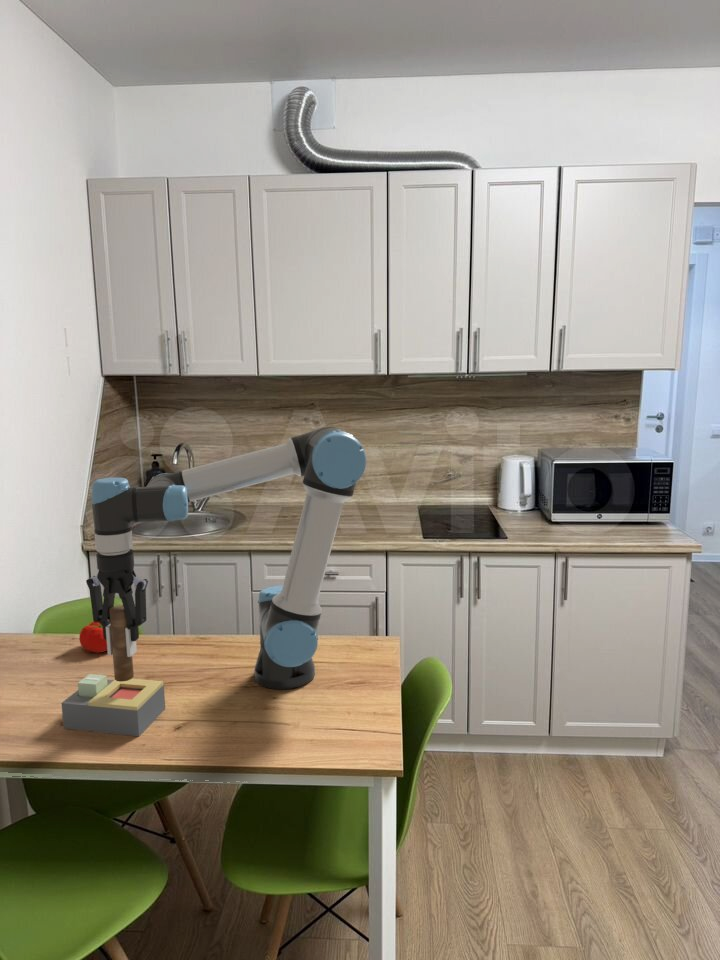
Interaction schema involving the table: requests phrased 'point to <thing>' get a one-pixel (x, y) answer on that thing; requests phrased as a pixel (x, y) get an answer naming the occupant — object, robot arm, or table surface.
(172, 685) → the table surface
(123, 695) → the plunger
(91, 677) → the on button
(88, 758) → the table surface
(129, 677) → the rounded rod
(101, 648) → the tomato
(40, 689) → the table surface
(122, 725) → the breaker box
